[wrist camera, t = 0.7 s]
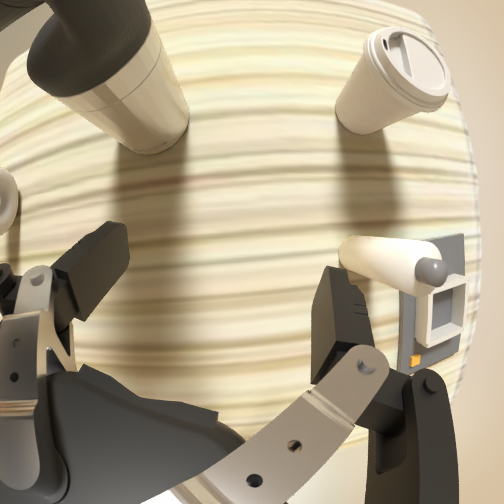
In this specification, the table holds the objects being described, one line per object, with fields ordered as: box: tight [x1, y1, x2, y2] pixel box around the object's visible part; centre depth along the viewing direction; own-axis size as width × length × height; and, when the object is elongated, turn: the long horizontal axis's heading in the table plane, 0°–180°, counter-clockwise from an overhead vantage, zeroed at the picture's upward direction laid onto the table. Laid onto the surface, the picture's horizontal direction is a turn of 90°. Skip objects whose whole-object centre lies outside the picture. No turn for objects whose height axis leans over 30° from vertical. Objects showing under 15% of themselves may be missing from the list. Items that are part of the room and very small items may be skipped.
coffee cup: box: [335, 26, 451, 135], centre depth 23 cm, size 10×10×15 cm
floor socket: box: [397, 233, 469, 375], centre depth 31 cm, size 20×13×4 cm, turn 9°
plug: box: [339, 235, 448, 297], centre depth 24 cm, size 4×4×16 cm
